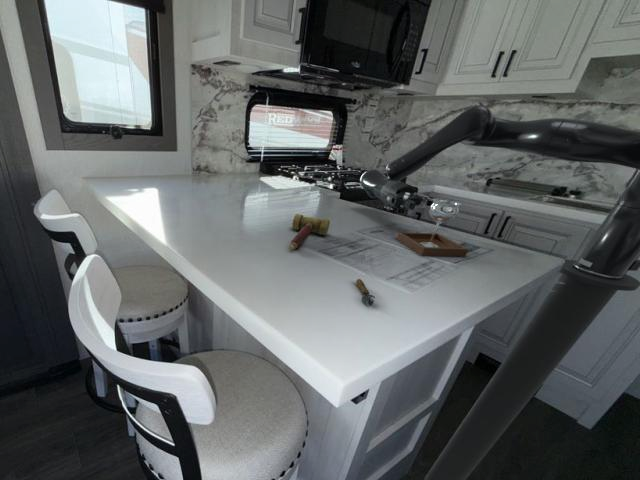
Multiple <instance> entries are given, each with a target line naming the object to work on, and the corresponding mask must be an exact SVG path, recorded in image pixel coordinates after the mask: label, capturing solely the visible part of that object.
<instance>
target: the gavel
mask: <svg viewBox="0 0 640 480" xmlns="http://www.w3.org/2000/svg"><path fill="white" fill-rule="evenodd" d="M291 224H292V225H291V227H292V230H295V231H298V233H296V235H295V236H294V237H293V238H292V239H291V241H290V249H291V250H295V249H299V248H300V247H301V246H302V244H303V243H304V242H305V240H306V239H307V238H308V236H309V235H310V234H311V233H318V235H319V236H326V235H328V232H329V228H330V224H331V221H330V219H327V218H322V219H320V218H315V217H311V216H304V215H303V214H301V213H300V214H299V213H296V214H295V215H294V216H293V219H292V223H291Z"/></svg>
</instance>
